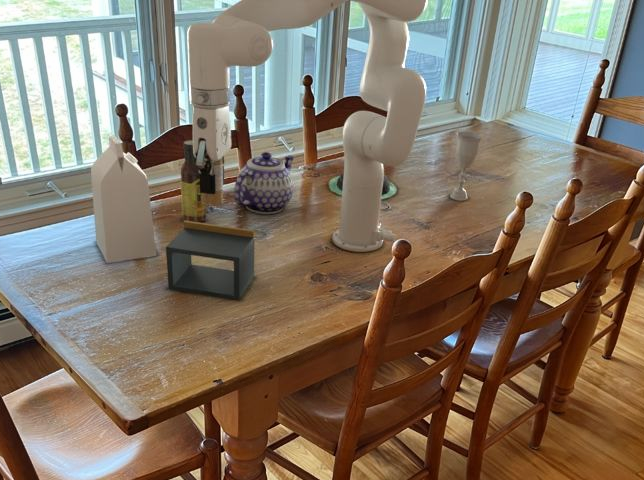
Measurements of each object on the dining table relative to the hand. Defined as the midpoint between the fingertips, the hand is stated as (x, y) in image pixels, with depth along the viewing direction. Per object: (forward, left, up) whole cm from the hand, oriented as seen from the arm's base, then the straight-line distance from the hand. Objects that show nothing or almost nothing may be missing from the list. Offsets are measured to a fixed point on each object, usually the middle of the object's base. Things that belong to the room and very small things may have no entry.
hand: (212, 187), depth 146 cm
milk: (+26, -10, -22) cm, 36 cm away
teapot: (+2, -46, -22) cm, 52 cm away
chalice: (-49, -72, -22) cm, 90 cm away
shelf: (+1, 0, -22) cm, 22 cm away
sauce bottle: (+17, -32, -22) cm, 43 cm away
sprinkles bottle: (0, 0, -4) cm, 4 cm away
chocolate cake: (-21, -70, -22) cm, 77 cm away
